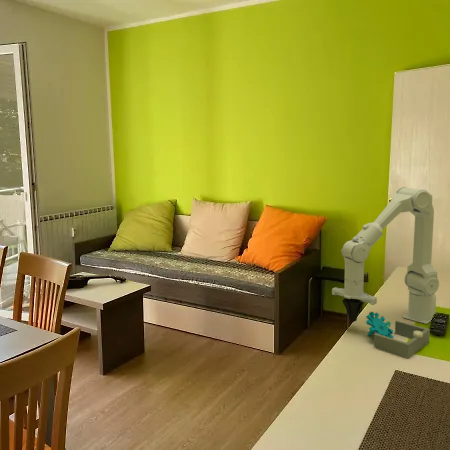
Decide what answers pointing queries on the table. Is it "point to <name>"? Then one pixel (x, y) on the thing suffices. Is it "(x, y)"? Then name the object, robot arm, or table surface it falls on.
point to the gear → (378, 325)
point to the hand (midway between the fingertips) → (353, 320)
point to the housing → (399, 347)
